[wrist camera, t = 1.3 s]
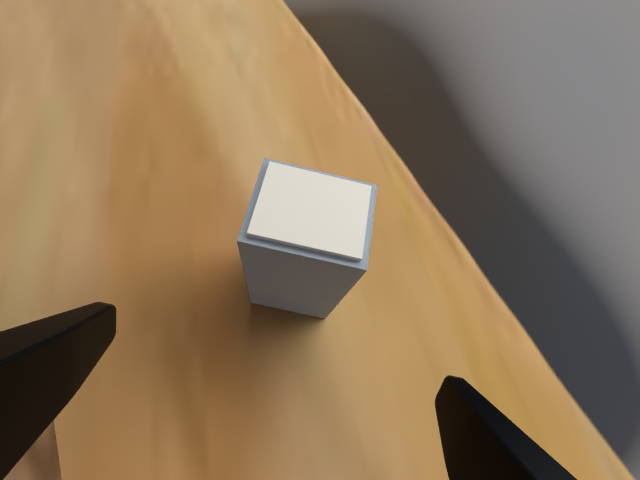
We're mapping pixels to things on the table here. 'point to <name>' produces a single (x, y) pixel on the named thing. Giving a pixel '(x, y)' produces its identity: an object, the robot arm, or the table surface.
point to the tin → (305, 238)
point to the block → (39, 459)
